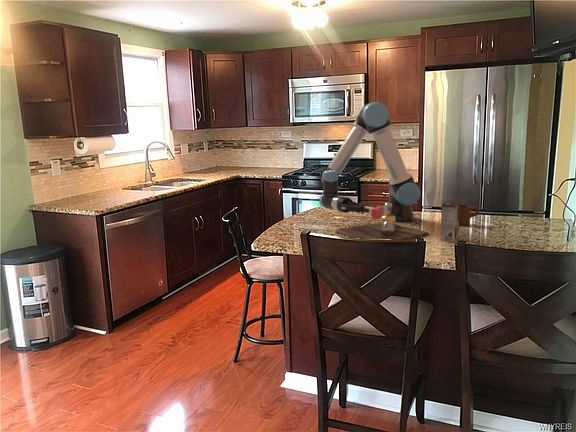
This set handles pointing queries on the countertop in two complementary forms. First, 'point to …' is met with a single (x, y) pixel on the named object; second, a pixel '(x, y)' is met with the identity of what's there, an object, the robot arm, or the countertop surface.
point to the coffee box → (450, 221)
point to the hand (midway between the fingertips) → (375, 211)
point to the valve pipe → (388, 224)
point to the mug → (466, 214)
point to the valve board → (375, 232)
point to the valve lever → (380, 211)
